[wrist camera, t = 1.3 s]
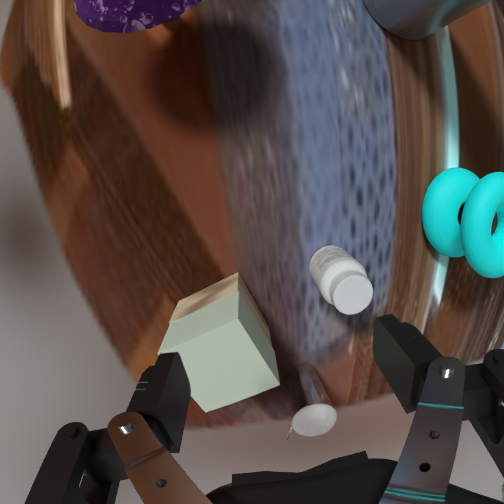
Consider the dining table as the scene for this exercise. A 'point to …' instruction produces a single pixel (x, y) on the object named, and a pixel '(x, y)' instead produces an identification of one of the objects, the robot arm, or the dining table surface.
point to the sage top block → (223, 353)
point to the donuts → (467, 218)
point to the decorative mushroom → (129, 13)
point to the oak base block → (218, 293)
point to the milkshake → (309, 403)
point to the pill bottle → (341, 279)
